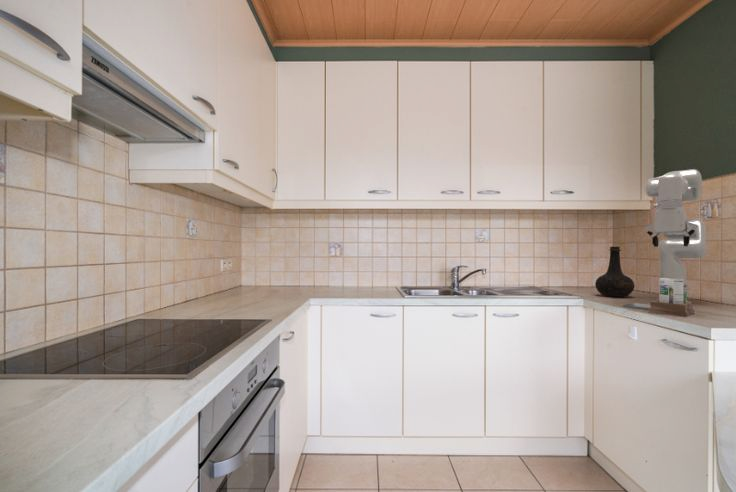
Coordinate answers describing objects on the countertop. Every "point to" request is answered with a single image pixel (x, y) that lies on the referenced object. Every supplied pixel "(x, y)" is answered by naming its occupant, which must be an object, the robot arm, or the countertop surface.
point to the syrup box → (671, 290)
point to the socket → (671, 308)
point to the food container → (685, 292)
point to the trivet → (637, 305)
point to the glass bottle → (614, 278)
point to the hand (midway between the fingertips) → (670, 246)
